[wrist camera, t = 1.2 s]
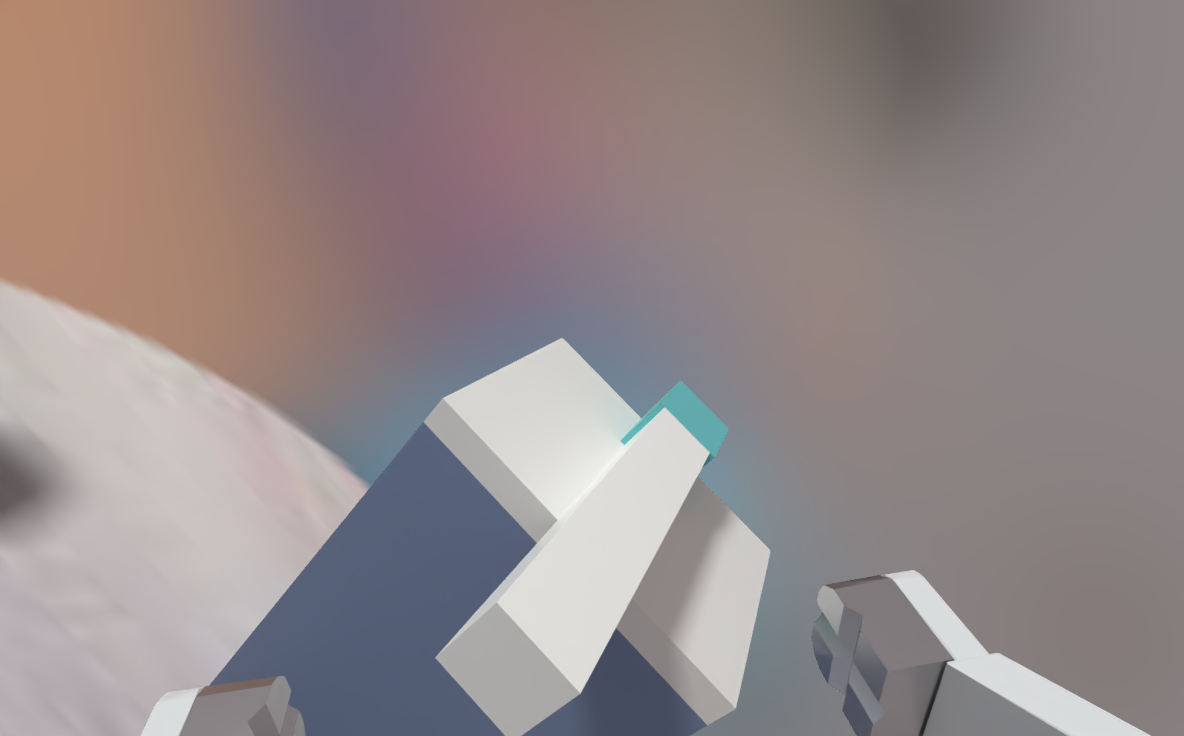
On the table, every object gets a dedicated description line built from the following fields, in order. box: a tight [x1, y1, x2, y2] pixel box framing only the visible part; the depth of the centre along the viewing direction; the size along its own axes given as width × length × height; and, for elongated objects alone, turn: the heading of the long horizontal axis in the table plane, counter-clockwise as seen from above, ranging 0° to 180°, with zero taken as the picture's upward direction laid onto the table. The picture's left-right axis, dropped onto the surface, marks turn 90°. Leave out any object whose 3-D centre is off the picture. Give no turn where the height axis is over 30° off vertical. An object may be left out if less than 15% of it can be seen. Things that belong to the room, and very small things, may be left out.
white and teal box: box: [435, 381, 729, 736], centre depth 25 cm, size 20×4×3 cm, turn 155°
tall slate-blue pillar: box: [210, 338, 770, 736], centre depth 35 cm, size 12×16×26 cm
